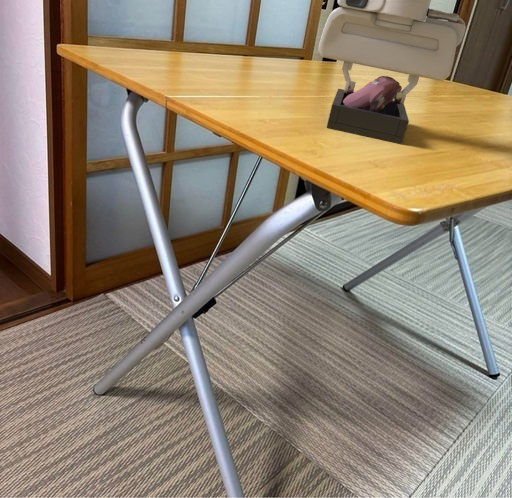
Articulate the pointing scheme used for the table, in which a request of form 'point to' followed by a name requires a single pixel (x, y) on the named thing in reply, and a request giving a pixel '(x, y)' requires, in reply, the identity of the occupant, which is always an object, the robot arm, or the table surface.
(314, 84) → the table surface
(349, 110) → the open box
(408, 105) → the table surface
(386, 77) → the video game controller
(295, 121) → the table surface
